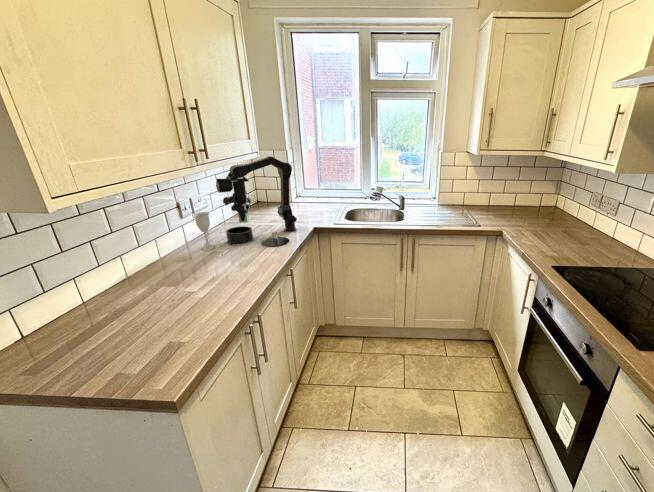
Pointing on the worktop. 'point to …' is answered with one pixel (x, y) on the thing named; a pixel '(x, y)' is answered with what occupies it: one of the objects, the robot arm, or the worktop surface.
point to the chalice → (203, 227)
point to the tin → (239, 235)
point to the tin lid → (275, 241)
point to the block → (245, 219)
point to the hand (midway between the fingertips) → (243, 219)
